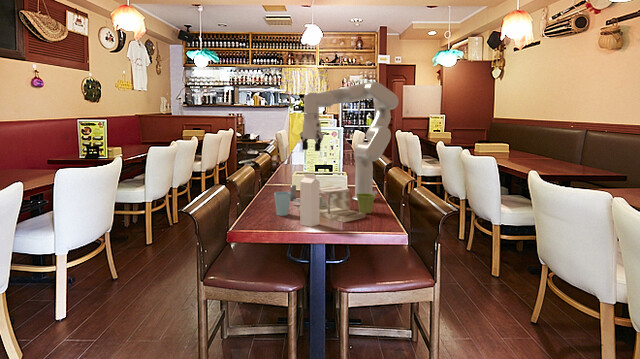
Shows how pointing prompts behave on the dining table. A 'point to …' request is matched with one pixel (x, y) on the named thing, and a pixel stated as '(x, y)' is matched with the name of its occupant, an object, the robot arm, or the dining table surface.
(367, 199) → the plant pot
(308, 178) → the milk
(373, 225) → the dining table surface
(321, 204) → the slider
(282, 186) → the dining table surface
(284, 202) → the cup
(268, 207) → the dining table surface
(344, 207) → the tunnel
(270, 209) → the dining table surface
